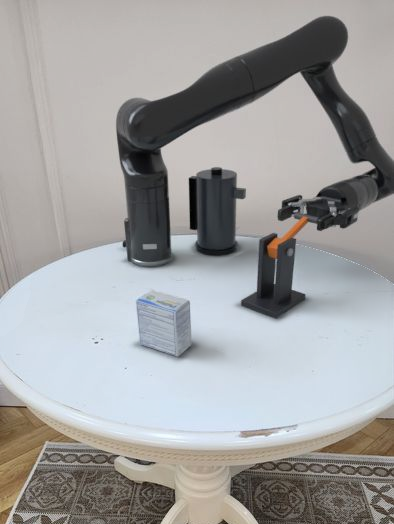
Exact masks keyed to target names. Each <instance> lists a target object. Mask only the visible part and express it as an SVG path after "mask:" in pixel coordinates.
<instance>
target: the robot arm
mask: <svg viewBox="0 0 394 524" xmlns="http://www.w3.org/2000/svg"><path fill="white" fill-rule="evenodd" d="M348 41H349V30H348V28H347V26H346V24H345V23H344V21H342V20H341V19H340V18H339V17H336V16H332V15H322V16H321V15H320V16H318V17H316V18H314V19H312V20H310V21H309V22H307V23H306V24H305V25H303V26H301V27H299V28H297V29H296V30H294V31H292V32H291V33H289V34H287V35H285V36H284V37H281V38H279V39H277V40H274V41H272V42H269V43H266V44H264V45H261V46H259V47H256V48H254V49H251V50H249V51H247V52H244V53H241V54H239V55H236V56H234V57H231V58H230V59H227V60H225V61H223V62H221V63H219V64H217V65H215V66H213V67H211V68H210V69H209V70H207V71H206V72H204V73H203V74H202V75H201V76H200V77H199V78H197V80H195V81H194V82H193V83H192V84H191V85H189V86H188V87H186V88H185V89H183V90H180V91H179V92H178V91H177V92H176V93H173V94H171V95H167V96H164V97H162V98H159V99H155V100H154V99H153V100H149V99H146V98H142V97H132V98H129V99H127V100H125V101H124V102H123V103H122V104H121V105H120V106H119V109H118V111H117V113H116V118H115V131H116V141H117V150H118V159H119V166H120V169H121V171H122V175H123V182H124V192H125V202H126V204H125V205H126V215H127V217H125V219H124V220H123V225H124V226H123V227H124V236H125V240H123V241H122V248H124V249H125V248H126V256H127V257H126V258H127V261H129V262H131V263H132V264H134V265H136V266H140V267H147V268H148V267H149V268H151V267H159V266H163V265H166V264H168V263H170V262H171V261H172V260H173V252H172V251H173V250H172V233H171V232H172V231H171V212H170V211H171V209H170V187H169V170H168V168H167V165H166V163H165V161H164V158H163V155H162V148H164V147H165V146H167V145H169V144H171V143H173V142H174V141H175V140H177V139H179V138H180V137H181V136H183V135H185V134H187V133H188V132H190V131H192V130H194V129H195V128H197V127H200V126H202V125H204V124H207V123H210V122H213V121H215V120H217V119H219V118H222V117H224V116H226V115H228V114H230V113H233V112H235V111H238V110H239V109H242V108H244V107H246V106H248V105H251V104H253V103H254V102H256V101H258V100H259V99H262V98H263V97H264V96H266V95H268V94H270V92H272V91H274V90H275V89H276V88H278V87H279V86H281V84H283V83H284V82H286V81H287V80H289V79H290V78H293V76H295V75H297V74H298V73H299V74H300V75H301V77H302V78H303V79H304V81H305V82H306V84H307V86H308V87H309V88H310V90H311V91H312V94H313V95H314V96H315V98H316V99H317V102H319V105H320V106H321V107H322V109H323V111H324V112H325V114H326V115H327V117H328V119H329V120H330V122H331V124H332V126H333V128H334V130H335V132H336V134H337V136H338V138H339V141H340V144H341V146H342V147H343V149H344V152H345V154H346V157H347V159H348V161H349V162H350V163H351V164H353V165H357V164H361V163H367V162H368V163H369V164H370V165H372V166H373V168H371V169H369V170H367V171H365V172H363V173H361V174H357V175H355V176H352V177H349V178H346V179H341V180H339V181H336V182H334V183H332V184H330V185H327V186H324V187H322V189H320V190H319V191H318V193H317V194H316V196H314V197H312V198H303V195H301V194H297V195H295V196H292V197H289V198H286V199H283V200H281V208H279V209H278V210H277V220H278V222H279V221H280V222H284V221H286V220H288V219H290V218H294V214H295V213H296V212H297V213H301V214H306V215H310V216H314V217H318V218H319V219H318V222H317V224H316V231H319V232H322V231H324V230H327V229H329V228H336V227H337V226H339V229H343V230H344V229H347V228H349V227H350V226H351V225H353V224H355V223H357V222H358V217H359V212H360V211H362V210H364V209H367V208H368V207H369V206H371V205H372V204H374V203H376V202H379V201H381V200H383V199H385V198H388V197H390V196H392V195H394V159H393V158H392V157H391V156H390V154H389V153H388V152H387V150H386V149H385V148H384V147H383V146H382V144H381V142H380V141H379V138H378V137H377V134H376V132H375V129H374V128H373V125H372V124H371V120H370V119H369V117H368V115H367V114H366V112H365V111H364V109H363V108H362V106H361V105H359V104H358V103H357V102H356V100H354V99H353V98H352V97H351V96H350V95H349V94H348V93H347V92H346V91H345V90H344V88H343V87H342V85H341V83H340V81H339V80H338V78H337V76H336V72H335V69H334V66H333V65H334V64H335V63H336V62H337V61H338V60H339V59H340V58H341V57H342V56H343V54H344V52H345V50H346V48H347V46H348V43H349V42H348ZM305 211H306V212H305ZM304 212H305V213H304Z"/></svg>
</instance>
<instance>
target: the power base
mask: <svg viewBox="0 0 394 524" xmlns="http://www.w3.org/2000/svg"><path fill="white" fill-rule="evenodd" d="M275 238H278V233H276V232H272V233H270V234H267V235H266V236H264V237H261V238H259V239H258V257H257V259H258V260H257V261H258V262H257V278H256V279H257V281H256V291H255V292H253V293H251V294H249V295H247V296H246V297H244V298H242V299H241V301H240V306H241V307H244V308H246V309H249V310H252V311H255V312H257V313H260V314H263V315H265V316H268V317H270V318H273V319H278V318H279V317H281V316H283V314H286V313H287V312H288V311H289V310H291V309H293V308H295V307H296V306H298V305H299V304H301V303H302V302H303V301H305V300H306V293H303V292H300V291H297V290H295V289H293V280H294V267H295V257H296V246H297V238H295V237H293V238H290V239H288V240H286V241H284V242H282V243H280V244H278V250H277V259H275V258H272V257H269V255H268V249H267V246H268V245H269V244H270V243H271V242H272V241H273V240H274V239H275Z"/></svg>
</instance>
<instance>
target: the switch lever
mask: <svg viewBox="0 0 394 524" xmlns="http://www.w3.org/2000/svg"><path fill="white" fill-rule="evenodd" d="M295 212H296V213H295V214H294V217H293V218H294V219H295V220H298V221H297V222H296V223H295V224H293V226H292V227H291V228H290V229H289V230H288V231H287V232H286V233H285V234H284V235H283V236H282V237H281V238H278V237H277V238H275V239H274V240H273V241H272V242H271V243H270V244H269V245H268V246H267V249H268V255H269V257H272V258H275V259H276V260H277V250H278V244H280V243H282V242H284V241H286V240H288V239H290V238H295V237H296V235H298V233H299V232H300V231H301V230H302V229H303V228H304V227H306V225H307V224H308V223H311V224H315V225H317V222H318V219H319V218H318V217H314V216H310V215H306V213H303V214H301V213H297V211H295Z"/></svg>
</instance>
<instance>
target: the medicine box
mask: <svg viewBox="0 0 394 524" xmlns="http://www.w3.org/2000/svg"><path fill="white" fill-rule="evenodd" d="M135 306H136V307H135V308H136V317H137V318H136V319H137V328H138V337H139V338H138V339H139V345H141V346H145V347H146V348H147V347H148V348H151V349H154V350H156V351H159V352H162V353H166V354H168V355H171V356H175V357H180V356H181V355H182V354H183V353H184V352H185V351H187V349H188V348H190V347H191V346H192V343H193V342H192V341H193V340H192V319H191V318H192V317H191V301H190V300H189V299H186V298H182V297H178V296H174V295H171V294H168V293H164V292H160V291H156V290H153V289H151V290H149V291H147V292H146V293H144V294H143V295H142V296H140V297H138V298H137V299H136V300H135Z"/></svg>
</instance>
